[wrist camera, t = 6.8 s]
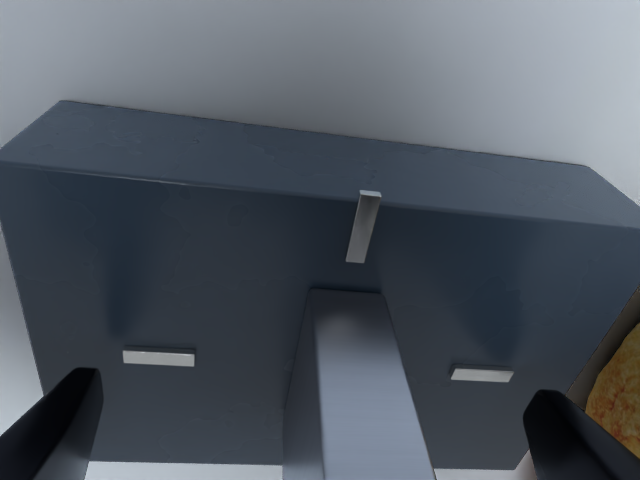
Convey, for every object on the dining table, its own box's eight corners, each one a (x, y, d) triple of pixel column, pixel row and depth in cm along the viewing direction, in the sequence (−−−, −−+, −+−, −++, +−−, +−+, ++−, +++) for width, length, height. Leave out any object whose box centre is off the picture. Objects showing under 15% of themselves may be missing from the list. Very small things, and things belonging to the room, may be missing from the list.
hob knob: (343, 425, 11) (372, 649, 8) (281, 422, 11) (283, 652, 8) (385, 291, 9) (452, 524, 6) (309, 285, 9) (328, 522, 5)
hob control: (98, 370, 14) (57, 473, 11) (57, 89, 10) (-27, 151, 7) (475, 388, 16) (514, 480, 13) (593, 158, 11) (688, 229, 9)
